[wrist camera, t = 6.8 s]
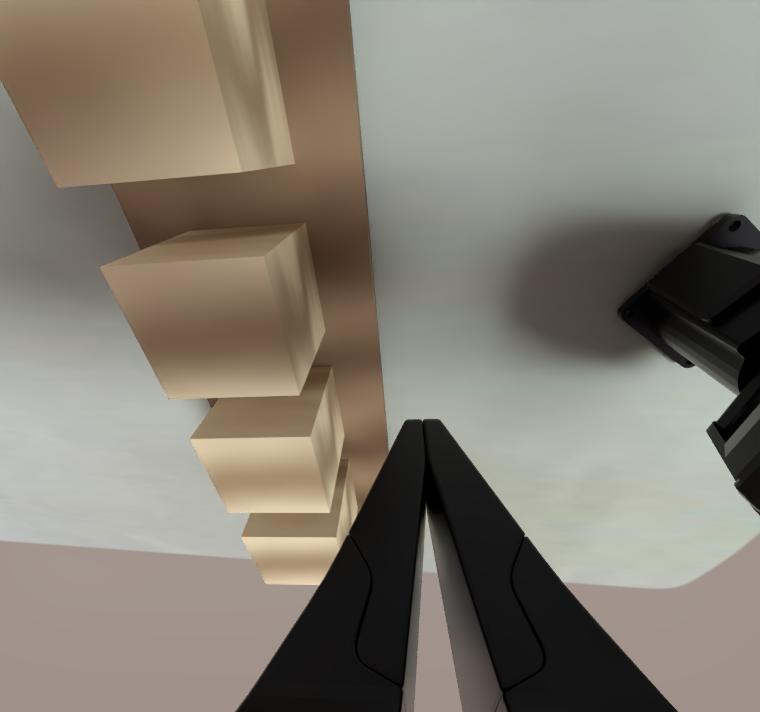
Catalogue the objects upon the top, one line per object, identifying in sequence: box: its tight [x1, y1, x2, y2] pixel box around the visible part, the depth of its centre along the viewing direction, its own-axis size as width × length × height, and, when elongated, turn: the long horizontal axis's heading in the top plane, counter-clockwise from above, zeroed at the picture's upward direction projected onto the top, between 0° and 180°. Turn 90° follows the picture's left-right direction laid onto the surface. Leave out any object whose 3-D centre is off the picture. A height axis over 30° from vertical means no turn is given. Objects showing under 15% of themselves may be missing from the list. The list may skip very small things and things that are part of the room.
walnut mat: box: [111, 0, 389, 514], centre depth 21 cm, size 36×12×1 cm, turn 4°
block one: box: [0, 0, 295, 188], centre depth 11 cm, size 6×6×6 cm
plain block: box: [190, 366, 345, 513], centre depth 20 cm, size 6×6×6 cm
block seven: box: [99, 223, 325, 399], centre depth 16 cm, size 6×6×6 cm
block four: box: [241, 459, 358, 585], centre depth 25 cm, size 6×6×6 cm
